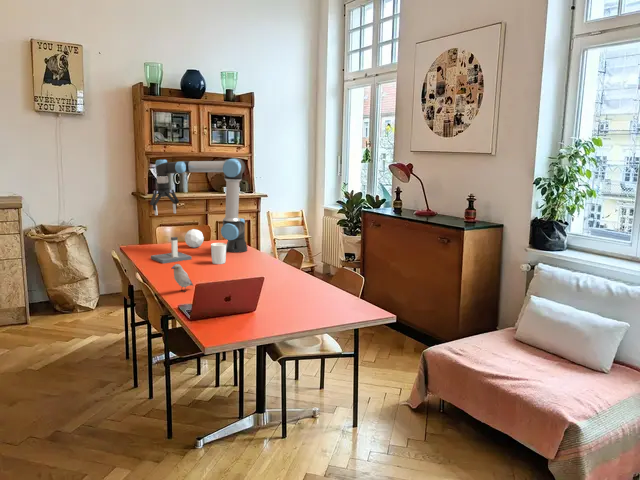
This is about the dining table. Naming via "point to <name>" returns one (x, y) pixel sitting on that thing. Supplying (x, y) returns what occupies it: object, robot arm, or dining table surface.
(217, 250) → the candle holder
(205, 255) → the dining table surface
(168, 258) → the board
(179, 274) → the bird
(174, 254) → the fader knob
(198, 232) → the geodesic sphere
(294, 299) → the dining table surface
